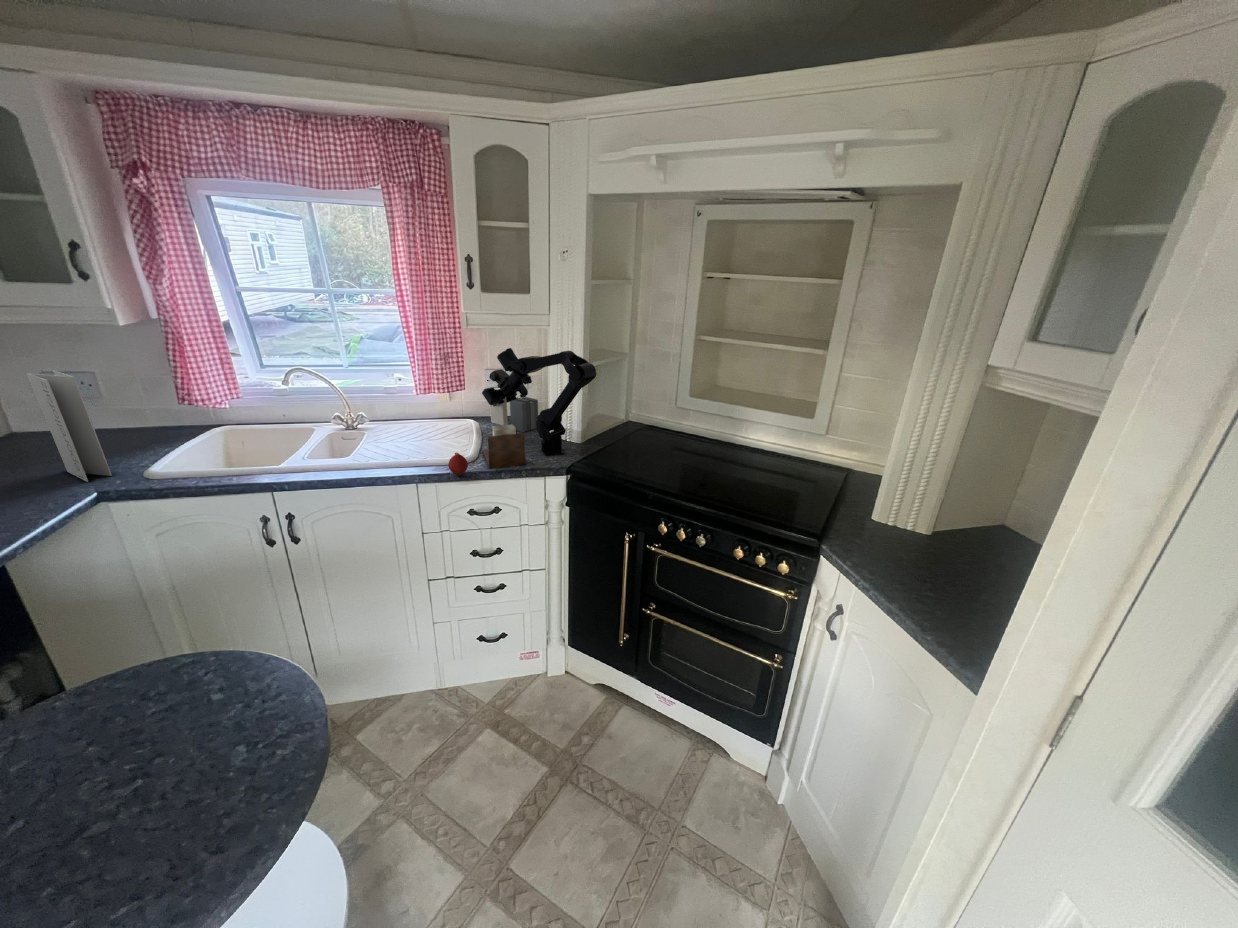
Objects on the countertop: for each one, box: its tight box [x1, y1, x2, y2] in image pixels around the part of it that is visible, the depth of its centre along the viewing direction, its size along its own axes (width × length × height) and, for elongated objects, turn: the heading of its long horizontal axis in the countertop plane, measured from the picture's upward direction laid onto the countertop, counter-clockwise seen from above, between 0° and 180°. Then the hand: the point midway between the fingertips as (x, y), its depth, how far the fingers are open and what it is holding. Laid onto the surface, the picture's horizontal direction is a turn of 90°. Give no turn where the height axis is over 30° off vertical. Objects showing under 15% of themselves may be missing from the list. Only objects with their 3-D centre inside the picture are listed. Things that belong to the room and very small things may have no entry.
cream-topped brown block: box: [482, 423, 526, 469], centre depth 171 cm, size 12×16×13 cm
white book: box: [489, 397, 509, 426], centre depth 191 cm, size 2×7×12 cm, turn 56°
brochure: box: [26, 370, 113, 483], centre depth 143 cm, size 14×6×30 cm, turn 62°
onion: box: [448, 451, 469, 477], centre depth 157 cm, size 6×6×8 cm
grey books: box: [509, 396, 539, 433], centre depth 203 cm, size 9×7×13 cm
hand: (495, 405), depth 191 cm, fingers closed on white book, 2 cm apart
